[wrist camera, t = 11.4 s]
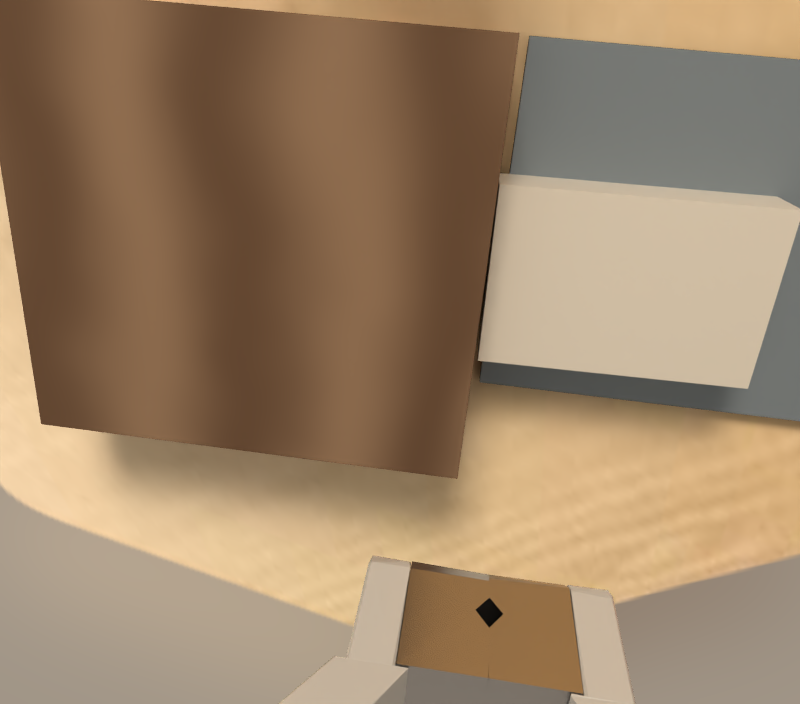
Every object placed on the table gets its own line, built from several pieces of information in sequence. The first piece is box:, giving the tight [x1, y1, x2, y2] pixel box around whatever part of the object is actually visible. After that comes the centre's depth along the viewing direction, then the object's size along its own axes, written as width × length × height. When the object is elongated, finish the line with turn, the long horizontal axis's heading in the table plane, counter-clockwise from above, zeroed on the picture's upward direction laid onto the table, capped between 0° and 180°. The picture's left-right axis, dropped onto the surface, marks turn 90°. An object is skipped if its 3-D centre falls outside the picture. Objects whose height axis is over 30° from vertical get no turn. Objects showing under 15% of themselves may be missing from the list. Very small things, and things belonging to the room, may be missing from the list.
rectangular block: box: [478, 173, 800, 389], centre depth 23 cm, size 9×6×2 cm, turn 86°
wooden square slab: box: [0, 0, 519, 479], centre depth 23 cm, size 15×14×4 cm
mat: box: [480, 36, 800, 421], centre depth 23 cm, size 14×12×1 cm
